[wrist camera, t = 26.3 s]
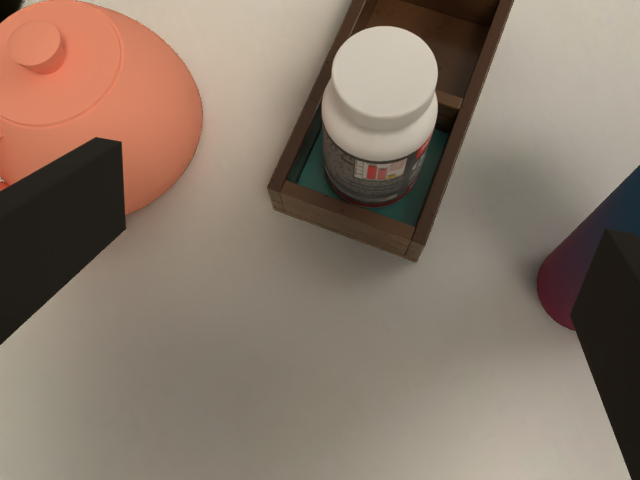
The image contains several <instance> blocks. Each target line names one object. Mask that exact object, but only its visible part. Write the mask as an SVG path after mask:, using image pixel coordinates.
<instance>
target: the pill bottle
mask: <svg viewBox="0 0 640 480" xmlns="http://www.w3.org/2000/svg"><path fill="white" fill-rule="evenodd" d="M437 78H438V68H437V63H436V60H435V57H434V54H433V53H432V51H431V49H430V48H429V47H428V45H427V44H426V43H425V42H424V41H423V40H422V39H421V38H419V37H418V36H416V35H415V34H413V33H411V32H409V31H407V30H404V29H401V28H397V27H391V26H377V27H372V28H368V29H365V30H362V31H360V32H358V33H356V34H354V35H353V36H351V37H350V38H349V39H347V41H345V42H344V44H343V45H342V46H341V47H340V48H339V50H338V52H337V53H336V55H335V58H334V60H333V65H332V76H331V79H330V81H329V82H328V84H327V86H326V88H325V91H324V94H323V99H322V128H323V153H324V169H325V174H326V177H327V180H328V182H329V184H330V186H331V187H332V189H333V190H334V191H335V192H336V193H337V194H338V195H339V196H340V197H341V198H342V199H344V200H345V201H347V202H349V203H350V204H353V205H356V206H359V207H363V208H382V207H386V206H389V205H392V204H394V203H396V202H398V201H399V200H401V199H402V198H404V197H405V196H406V195H407V194H408V193H409V192H410V190H411V189H412V188H413V186H414V184H415V183H416V181H417V178H418V176H419V173H420V170H421V167H422V164H423V160H424V157H425V154H426V151H427V148H428V145H429V142H430V139H431V136H432V133H433V130H434V127H435V123H436V119H437V113H438V103H437V96H436V93H435V88H436V84H437Z"/></svg>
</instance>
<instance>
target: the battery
mask: <svg viewBox="0 0 640 480" xmlns="http://www.w3.org/2000/svg"><path fill="white" fill-rule="evenodd" d="M21 1H22V0H0V23H1V22H2V21H4V20H5V19H6V18H7V17H9V16H10V15H12V14H14V13H15V12H16V11H17V10H18V8H19V6H20V4H21Z"/></svg>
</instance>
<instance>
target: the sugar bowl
mask: <svg viewBox="0 0 640 480" xmlns="http://www.w3.org/2000/svg"><path fill="white" fill-rule="evenodd" d="M201 128H202V104H201V98H200V95H199V91H198V88H197V86H196V84H195V81H194V79H193V77H192V75H191V73H190V71H189V70H188V68H187V67H186V65H185V64H184V62H183V61H182V60H181V59H180V57H179V56H178V55H177V54H176V53H175V51H174V50H173V49H172V48H171V47H170V46H169V45H168V44H167V43H166V42H165V41H164V40H163V39H162V38H160V37H159V36H158V35H157V34H156V33H154V32H153V31H151V30H150V29H149V28H147V27H146V26H144V25H142V24H141V23H139V22H138V21H136V20H134V19H132V18H129V17H127V16H125V15H123V14H121V13H118V12H116V11H113V10H110V9H107V8H104V7H100V6H97V5H94V4H91V3H86V2H80V1H74V0H49V1H43V2H39V3H35V4H32V5H30V6H27V7H25V8H23V9H21V10H19V11H17V12H15V13H14V14H12V15H10V16H9V17H7V18H6V19H5V20H4V21H2V22H1V23H0V177H1V178H2V179H3V180H4V182H1V181H0V191H1V190H3V189H5V188H7V187H9V186H10V185H12V184H14V183H16V182H17V181H19V180H21V179H23V178H24V177H26V176H28V175H30V174H31V173H33V172H35V171H37V170H38V169H40V168H42V167H44V166H46V165H47V164H49V163H51V162H53V161H54V160H56V159H58V158H60V157H61V156H63V155H65V154H67V153H68V152H70V151H72V150H74V149H75V148H77V147H79V146H81V145H83V144H84V143H86V142H88V141H90V140H91V139H93V138H95V137H99V138H105V139H110V140H116V141H121V142H122V157H123V179H124V200H125V215H127V214H129V213H131V212H134V211H136V210H139V209H141V208H142V207H144V206H146V205H148V204H149V203H151V202H153V201H154V200H155V199H157V198H158V197H159V196H161V195H162V194H164V193H165V192H166V191H167V190H168V189H169V188H170V187H171V186H172V185H173V184H174V183H175V182H176V181H177V179H178V178H179V177H180V176H181V175H182V174H183V172H184V171H185V169H186V167H187V166H188V164H189V163H190V161H191V159H192V157H193V155H194V153H195V151H196V148H197V144H198V141H199V138H200V133H201Z"/></svg>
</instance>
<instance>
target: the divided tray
mask: <svg viewBox="0 0 640 480" xmlns="http://www.w3.org/2000/svg"><path fill="white" fill-rule="evenodd" d="M513 2H514V0H353V1H352V3H351V5H350V8H349V10H348V12H347V14H346V16H345V18H344V21H343V23H342V25H341V27H340V29H339V32H338V34H337V36H336V38H335V40H334V42H333V45H332V47H331V49H330V51H329V53H328V56H327V58H326V60H325V62H324V64H323V66H322V69H321V71H320V73H319V75H318V77H317V79H316V82H315V84H314V86H313V88H312V90H311V93H310V95H309V97H308V99H307V101H306V103H305V106H304V108H303V110H302V112H301V114H300V117H299V119H298V121H297V123H296V125H295V127H294V130H293V132H292V134H291V136H290V138H289V141H288V143H287V145H286V147H285V149H284V151H283V154H282V156H281V158H280V160H279V162H278V164H277V167H276V169H275V171H274V173H273V175H272V178H271V180H270V182H269V184H268V186H267V188H268V191H269V195H270V198H271V201H272V205H273V209H274V210H277V211H279V212H282V213H285V214H287V215H290V216H293V217H295V218H298V219H301V220H304V221H306V222H309V223H312V224H314V225H317V226H320V227H322V228H325V229H328V230H330V231H333V232H336V233H338V234H341V235H344V236H347V237H349V238H352V239H355V240H357V241H360V242H363V243H365V244H368V245H371V246H373V247H376V248H379V249H381V250H384V251H387V252H390V253H392V254H395V255H398V256H400V257H403V258H406V259H408V260H411V261H414V262H417V260H418V258H419V256H420V254H421V253H422V251H423V249H424V247H425V245H426V242H427V239H428V237H429V234H430V231H431V228H432V226H433V223H434V220H435V217H436V215H437V212H438V209H439V206H440V204H441V201H442V198H443V195H444V193H445V190H446V187H447V184H448V182H449V179H450V176H451V173H452V171H453V168H454V165H455V162H456V159H457V157H458V154H459V151H460V148H461V146H462V143H463V140H464V137H465V135H466V132H467V129H468V126H469V124H470V121H471V118H472V115H473V113H474V110H475V107H476V104H477V102H478V99H479V96H480V93H481V91H482V88H483V85H484V82H485V79H486V77H487V74H488V71H489V68H490V66H491V63H492V60H493V57H494V55H495V52H496V49H497V46H498V44H499V41H500V38H501V35H502V33H503V30H504V27H505V24H506V22H507V19H508V16H509V13H510V11H511V8H512V5H513ZM377 26H391V27H397V28H401V29H404V30H407V31H409V32H411V33H413V34H415V35H416V36H418V37H419V38H421V39H422V40H423V41H424V42H425V43H426V44H427V45H428V47H429V48H430V49H431V51H432V53H433V54H434V57H435V60H436V63H437V68H438V78H437V84H436V88H435V93H436V96H437V103H438V113H437V119H436V123H435V127H434V130H433V133H432V136H431V139H430V142H429V145H428V148H427V151H426V154H425V157H424V160H423V164H422V167H421V170H420V173H419V176H418V178H417V181H416V183H415V184H414V186H413V188H412V189H411V190H410V192H409V193H408V194H407V195H406V196H405V197H404V198H402V199H401V200H399V201H398V202H396V203H394V204H392V205H389V206H386V207H382V208H363V207H359V206H356V205H353V204H350V203H349V202H347V201H345V200H344V199H342V198H341V197H340V196H339V195H338V194H337V193H336V192H335V191H334V190H333V189H332V187H331V186H330V184H329V182H328V180H327V177H326V174H325V169H324V153H323V128H322V99H323V94H324V91H325V88H326V86H327V84H328V82H329V81H330V79H331V76H332V65H333V60H334V58H335V55H336V53H337V52H338V50H339V48H340V47H341V46H342V45H343V44H344V42H345V41H347V39H349V38H350V37H351V36H353V35H354V34H356V33H358V32H360V31H362V30H365V29H368V28H372V27H377Z"/></svg>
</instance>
